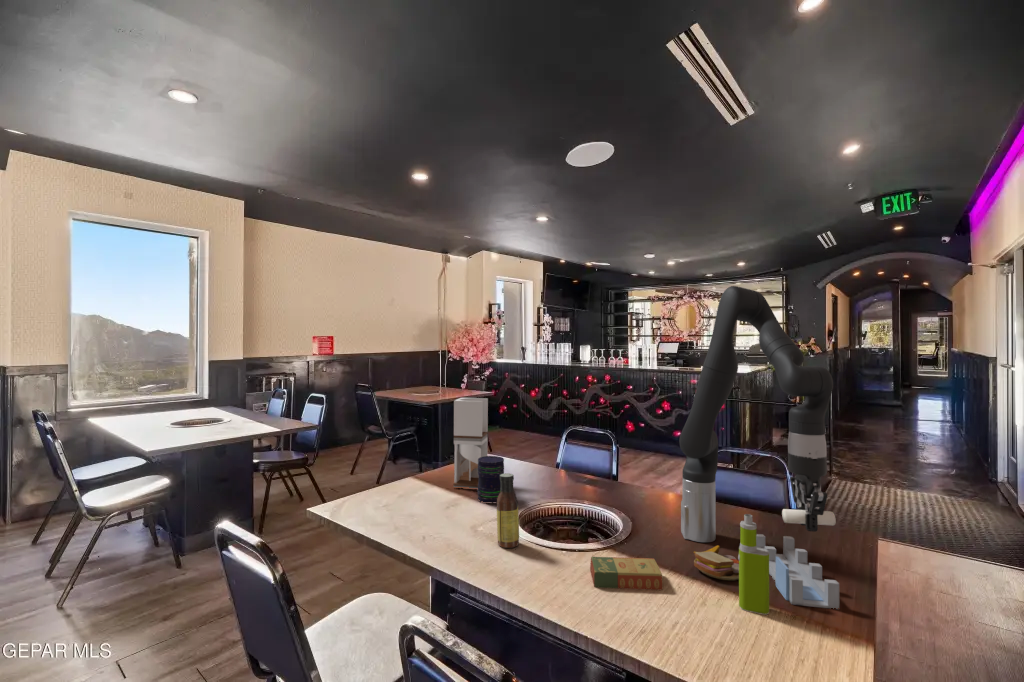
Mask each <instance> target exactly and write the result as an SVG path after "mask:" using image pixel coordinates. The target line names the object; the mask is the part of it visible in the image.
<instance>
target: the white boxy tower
mask: <svg viewBox="0 0 1024 682" xmlns="http://www.w3.org/2000/svg"><path fill="white" fill-rule="evenodd" d="M488 407H489V398H486V397H485V398H483V397H480V398H479V397H478V398H477V397H459V398H457V399H454V401H453V445H454V464H453V465H454V467H453V469H454V473H453V475H454V477H453V479H454V482H453V485H452V486H453V487H469V488H478V481H479V475H478V458H480V457H485V456H488V444H489V443H488V442H489V440H488V432H489V431H488V430H489V428H488V424H489V416H488V414H489V413H488V411H489V408H488Z"/></svg>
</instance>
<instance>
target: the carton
mask: <svg viewBox="0 0 1024 682" xmlns="http://www.w3.org/2000/svg"><path fill="white" fill-rule="evenodd" d="M589 566H590V567H589V569H590V576H591V580H592V583H593V587H594V588H601V589H603V588H606V589H607V588H608V589H625V590H626V589H633V590H652V591H653V590H654V591H655V590H657V591H658V590H659V591H663V587H664V585H663V573H662V571H661V569H660V567H659V565H658V564H657V561H656V560H655V558H653V557H652V558H651V557H647V558H646V557H619V556H618V557H614V556H613V557H612V556H591V557H590V565H589Z"/></svg>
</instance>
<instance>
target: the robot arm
mask: <svg viewBox="0 0 1024 682" xmlns="http://www.w3.org/2000/svg"><path fill="white" fill-rule="evenodd" d="M736 322H744V323H749V324H750V325H751V326H752V327H753V328H754V329H756V330H757V332H758V333H759V335H758V344H759V347H760V349H761V351H762V353H763V354H764V356H765V357H766V358H767V360H768V361H769V363H770V364H771V365H772V366H773V369H774V372H775V375H776V378H777V381H778V385H779V387H780V389H781V390H782V391H783V392H784V393H785V394H787V395H788V396H791V397H798V398H799V397H802V398H803V397H805V398H804V402H803V403H802V404H800V405H797V406H793V407H791V408H790V409H789V410H788V439H787V461H788V462H787V467H788V471H789V473H792V474H795V476H791V477H789V480H790V487H791V492H792V497H793V498H792V499H793V502H794V503H795V504H796V507H797V508H798V510H805V512H806V514H805V518H806V524H800V525H801V526H805V530H806V531H808V532H813V533H814V532H818V528H819V527H818V520H817V515H823V513H824V511H825V507H826V504H827V499H828V493H827V492H826V491H825V492H824V491H822V486H821V482H820V478H821V477H824V476H826V475H827V474H828V467H827V464H828V462H827V460H828V458H827V456H828V455H827V453H828V452H827V441H826V424H825V419H826V418H825V417H826V413H827V410H828V407H829V404H830V400H831V396H832V393H833V390H834V379H833V377H832V375H831V372H830V371H829V370H828V368H826V367H824V366H821V365H820V366H819V365H802V364H803V363H804V360H805V356H804V353H803V351H802V350H801V348H799V347H798V345H797V344H796V343H795V341H793V339H792V338H791V337H790V336H789V335H788V333H786V331H785V330H784V328H783V327H782V326H781V324H780V322H779V321H778V319H777V317H776V316H775V314H774V312H773V309H772V308H771V306H770V304H769V303H768V301H767V298H766V297H765V296H764V295H763V294H762V293H761V292H759V291H757V290H755V289H754V290H753V289H750V288H745V287H740V286H736V285H731V286H729V287H726V289H725V290H724V291H723V293H722V294H721V296H720V298H719V302H718V305H717V310H716V315H715V320H714V324H713V330H712V333H711V334H712V335H711V339H710V343H709V346H708V350H707V353H706V356H705V358H704V362H703V365H702V368H701V372H700V375H699V377H698V383H697V386H696V388H695V392H694V393H695V394H694V397H693V400H692V401H693V402H692V405H691V409H690V411H689V414H688V416H687V419H686V422H685V423H684V426H683V428H682V430H681V432H680V435H679V439H678V440H679V447H680V448H679V449H680V450H681V452H682V453H683V454H684V455H685V456H686V458H685V463H684V465H683V466H682V467H683V468H682V472H681V474H682V487H681V488H682V492H681V493H682V497H681V498H682V499H681V501H680V532H681V535H682V536H683V539H684V540H690V541H693V542H698V543H712V542H714V541H715V540H716V477H717V476H716V474H717V472H718V464H719V462H718V461H719V439H718V435H717V433H716V431H715V430H714V428H715V423H716V420H717V417H718V415H719V413H720V411H721V410H722V408H723V406H724V404H725V403H726V402H727V399H728V397H729V396H730V394H731V391H732V389H733V386H734V384H735V382H736V378H737V374H738V370H739V363H738V358H737V353H736V349H735V346H734V331H735V326H736Z"/></svg>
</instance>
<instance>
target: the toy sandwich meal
mask: <svg viewBox="0 0 1024 682" xmlns="http://www.w3.org/2000/svg"><path fill="white" fill-rule="evenodd" d="M720 548H721V547H720V545H715V546H714V547H712V548H709V549H707V550H704V551H693V554H694V557H695V559H694V560H693V566H694V567H695V568H696V569H698V571H699V572H701V573H702V574H704V575H706V576H708V577H711V578H714V579H717V580H722V581H737V580H738V581H739V559H738V558H736V557H735V556H733V555H729V554H725V555H724V554H723V555H722V554H719V552H720Z"/></svg>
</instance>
